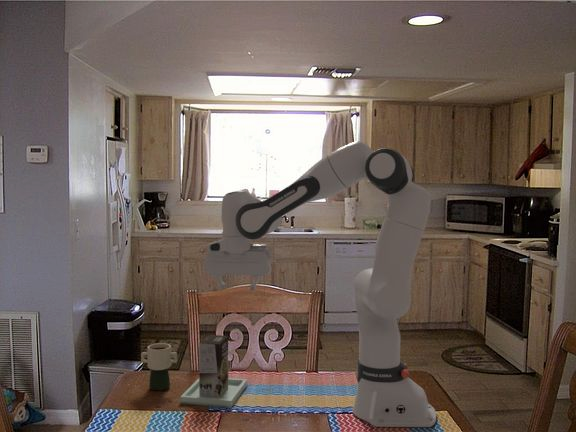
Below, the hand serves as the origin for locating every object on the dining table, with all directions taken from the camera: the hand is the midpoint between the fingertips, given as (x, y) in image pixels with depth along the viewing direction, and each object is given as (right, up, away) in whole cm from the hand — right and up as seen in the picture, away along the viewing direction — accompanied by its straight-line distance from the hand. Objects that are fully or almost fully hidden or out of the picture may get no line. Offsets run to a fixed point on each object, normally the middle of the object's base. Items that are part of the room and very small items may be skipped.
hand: (238, 289), depth 177 cm
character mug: (-24, -30, +1) cm, 39 cm away
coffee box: (-7, -30, -4) cm, 31 cm away
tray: (-7, -31, -4) cm, 31 cm away
